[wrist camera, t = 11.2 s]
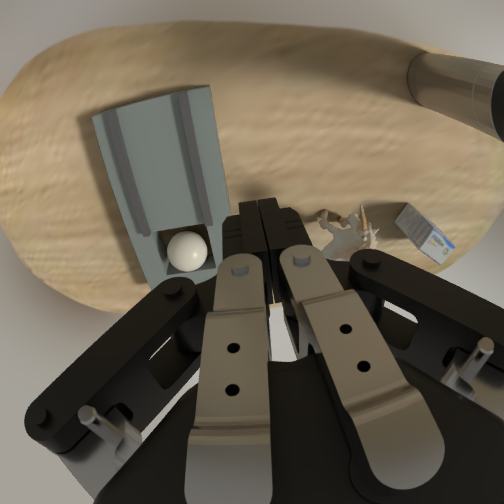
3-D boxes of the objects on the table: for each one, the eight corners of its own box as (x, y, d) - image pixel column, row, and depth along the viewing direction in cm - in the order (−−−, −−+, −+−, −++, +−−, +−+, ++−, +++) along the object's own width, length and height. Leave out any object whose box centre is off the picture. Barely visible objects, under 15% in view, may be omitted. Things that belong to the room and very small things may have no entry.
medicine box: (392, 220, 48) (417, 249, 41) (407, 201, 46) (434, 227, 39) (417, 238, 51) (440, 266, 44) (431, 220, 49) (456, 247, 42)
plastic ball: (213, 254, 48) (200, 220, 46) (212, 271, 43) (197, 233, 40) (179, 265, 48) (165, 232, 46) (173, 283, 43) (157, 247, 40)
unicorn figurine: (365, 177, 43) (408, 220, 32) (317, 274, 53) (338, 331, 42) (324, 162, 41) (361, 204, 30) (280, 267, 52) (295, 327, 41)
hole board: (209, 85, 33) (208, 87, 30) (241, 270, 51) (243, 288, 47) (101, 112, 33) (88, 118, 30) (156, 282, 51) (153, 300, 47)
